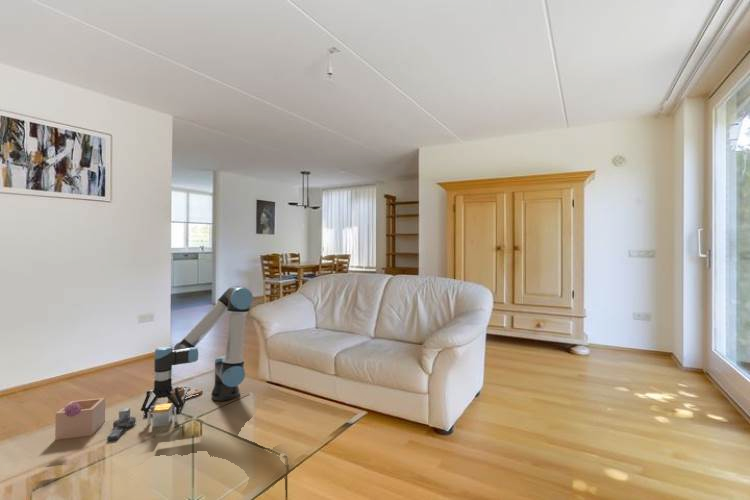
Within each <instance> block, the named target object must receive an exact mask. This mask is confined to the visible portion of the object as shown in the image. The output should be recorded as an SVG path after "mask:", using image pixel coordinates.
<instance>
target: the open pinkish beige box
mask: <svg viewBox="0 0 750 500" xmlns="http://www.w3.org/2000/svg"><path fill="white" fill-rule="evenodd" d="M75 402H76V403H77V402H78V404H79V406H80V407H82V408H83V409H81V410H82V411H81V412H80V414H78V415H76V417H75V416H73V417H67V415H65V408H64V407H65V406H68V404H73V403H75ZM65 406H63V407H62V408H61V409H60V410H58V411H57V412H55V425H54V426H55V430H54V431H55V432H54V433H55V436H54V437H55V439H54V440H55V441H58V440H65V439H74V438H79V437H80V438H81V437H87V436H88V437H90V436H93V435H94V434H95V433H96V432H97V431H98V430H99V429H100V428H101V427H102V425H103V424H104V423H105V422H106V397H99V398H89V399H79V400H71V401H70V402H69V403H67V404H66V405H65Z"/></svg>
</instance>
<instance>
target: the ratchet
mask: <svg viewBox="0 0 750 500" xmlns="http://www.w3.org/2000/svg"><path fill="white" fill-rule="evenodd" d="M135 423H136V417H135V416H131V407H122V408H121V409H120V410H119V411H118V419H116V420H114V421H113V423H112V428H113V430H112V431H111V432H110V433H109V435H107V439H106V442H113V441H114V442H115V441H118V440H119V439H120V438H121V437H122V435H123V434H124V433H125V432H126V430H129V429H131V428H133V427H134V426H136V424H135Z"/></svg>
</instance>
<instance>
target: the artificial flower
mask: <svg viewBox="0 0 750 500" xmlns="http://www.w3.org/2000/svg"><path fill="white" fill-rule="evenodd" d="M67 404H68V406H66V405H65V406H63V407H64V408H65V415H67V417H73V416H75V417H76V415H78V414H80V412H81V411H82V410H81V409H83V408H82V407H80V406H79V404H78V402H77V403H76V402H75V403H73V404H69V403H67Z"/></svg>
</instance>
